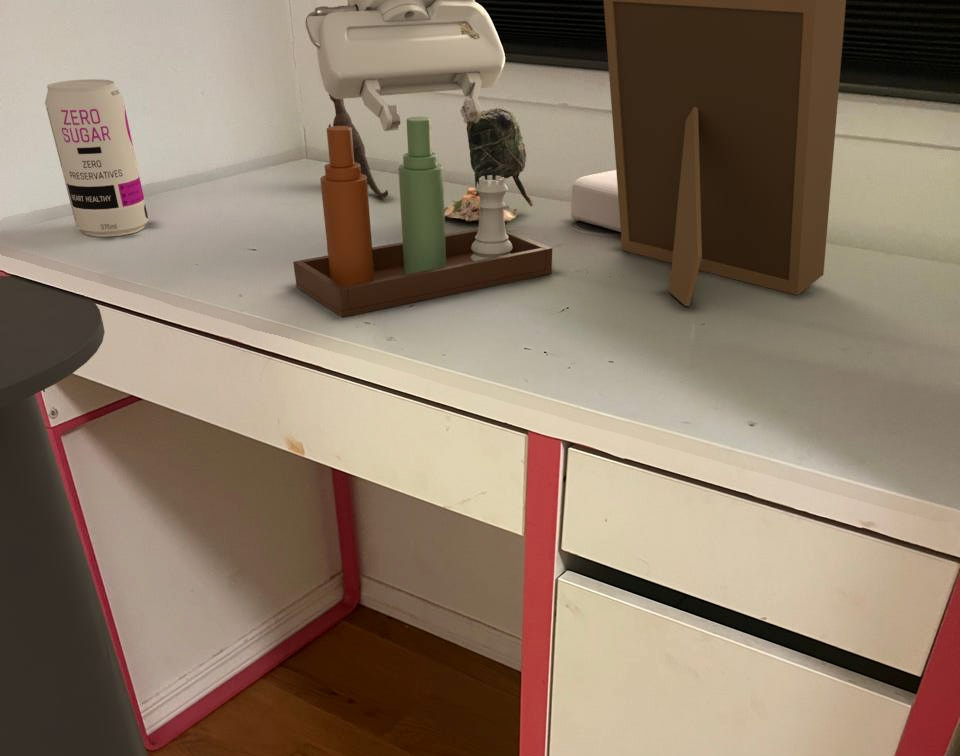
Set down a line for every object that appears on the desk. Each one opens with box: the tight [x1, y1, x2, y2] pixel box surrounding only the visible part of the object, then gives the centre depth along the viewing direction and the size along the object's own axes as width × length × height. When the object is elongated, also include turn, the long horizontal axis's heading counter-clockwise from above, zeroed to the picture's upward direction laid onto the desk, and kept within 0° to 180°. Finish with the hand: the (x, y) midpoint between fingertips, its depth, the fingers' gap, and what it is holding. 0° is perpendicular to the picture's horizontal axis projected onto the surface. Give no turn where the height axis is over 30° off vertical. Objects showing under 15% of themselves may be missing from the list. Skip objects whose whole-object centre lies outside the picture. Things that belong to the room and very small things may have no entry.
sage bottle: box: [397, 116, 446, 274], centre depth 92 cm, size 4×4×14 cm
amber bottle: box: [319, 125, 375, 286], centre depth 88 cm, size 4×4×14 cm
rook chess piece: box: [471, 175, 513, 261], centre depth 97 cm, size 4×4×8 cm
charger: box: [570, 169, 621, 233], centre depth 109 cm, size 5×9×15 cm
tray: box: [292, 228, 553, 318], centre depth 95 cm, size 24×11×2 cm, turn 122°
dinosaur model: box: [327, 93, 389, 199], centre depth 123 cm, size 4×12×15 cm
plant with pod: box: [444, 22, 534, 223], centre depth 109 cm, size 8×11×20 cm
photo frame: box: [603, 0, 847, 307], centre depth 88 cm, size 15×22×25 cm
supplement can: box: [44, 78, 149, 238], centre depth 109 cm, size 8×8×15 cm
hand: (434, 123), depth 101 cm, fingers open, 8 cm apart
